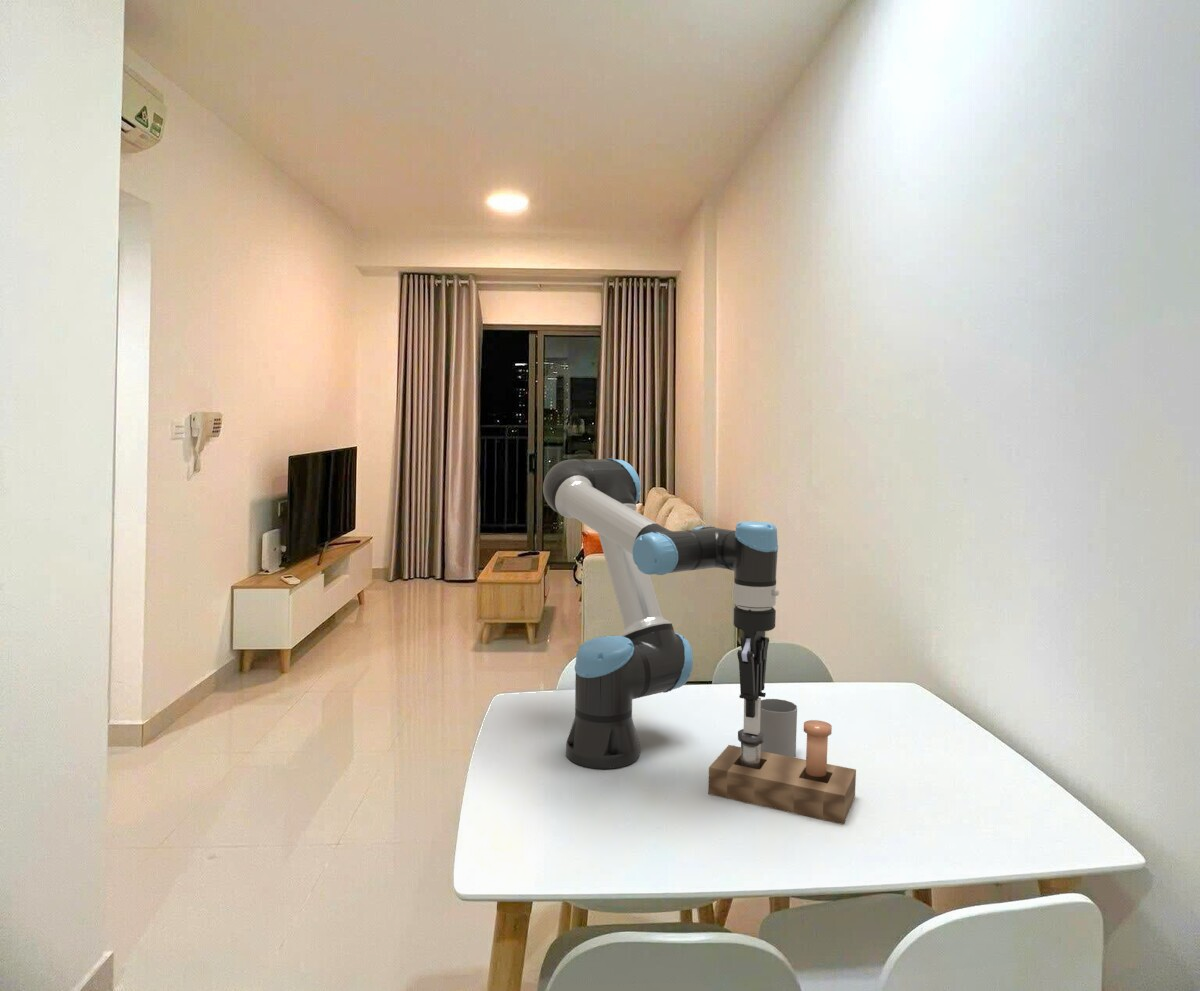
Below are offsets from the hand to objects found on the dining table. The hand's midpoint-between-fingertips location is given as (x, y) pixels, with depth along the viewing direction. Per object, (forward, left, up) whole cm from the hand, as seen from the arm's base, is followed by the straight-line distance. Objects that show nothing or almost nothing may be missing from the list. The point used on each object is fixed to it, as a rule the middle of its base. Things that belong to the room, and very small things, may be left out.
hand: (751, 732), depth 145 cm
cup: (0, +19, -11) cm, 22 cm away
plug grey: (0, 0, -9) cm, 9 cm away
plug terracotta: (+12, 0, -5) cm, 13 cm away
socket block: (+6, 0, -11) cm, 12 cm away
